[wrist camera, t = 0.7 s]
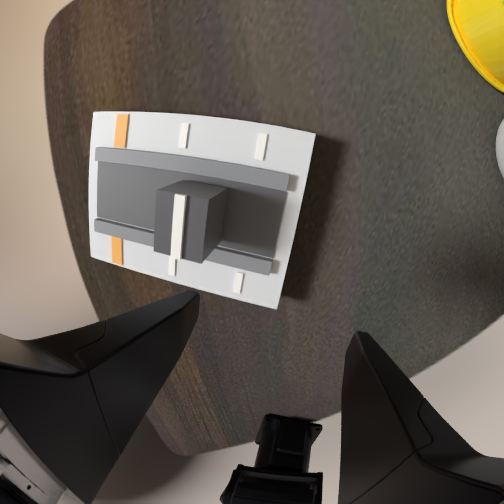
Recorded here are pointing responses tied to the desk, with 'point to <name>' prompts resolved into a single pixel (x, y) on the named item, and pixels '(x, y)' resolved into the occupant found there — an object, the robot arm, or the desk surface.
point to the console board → (203, 171)
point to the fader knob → (189, 220)
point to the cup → (500, 147)
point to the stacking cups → (480, 35)
